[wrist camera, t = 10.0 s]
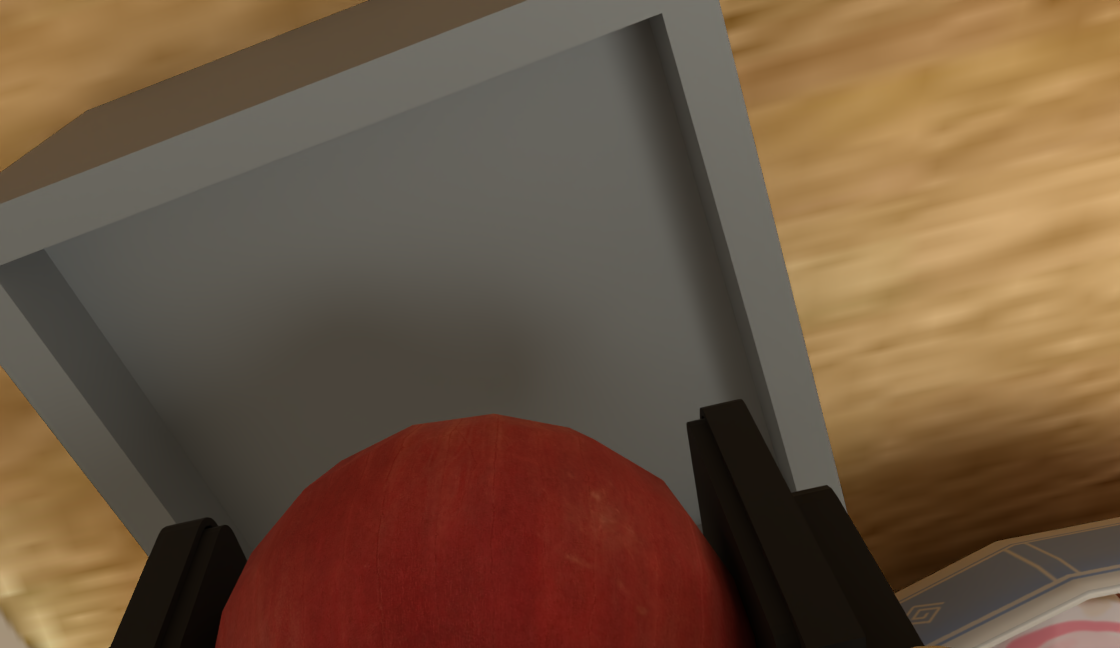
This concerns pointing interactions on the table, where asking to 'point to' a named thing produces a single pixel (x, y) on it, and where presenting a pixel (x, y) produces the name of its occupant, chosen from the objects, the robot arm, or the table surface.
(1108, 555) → the ramen bowl
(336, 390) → the grey hollow box
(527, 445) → the onion
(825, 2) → the table surface
